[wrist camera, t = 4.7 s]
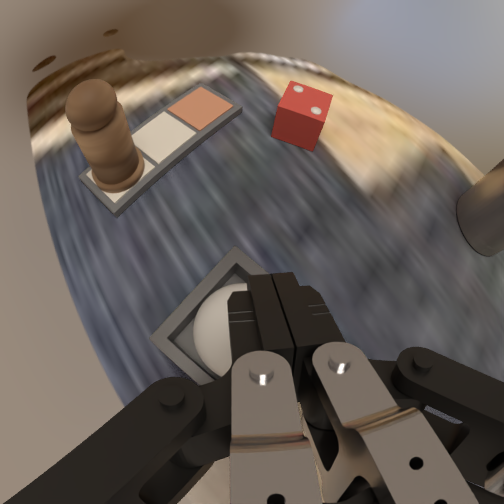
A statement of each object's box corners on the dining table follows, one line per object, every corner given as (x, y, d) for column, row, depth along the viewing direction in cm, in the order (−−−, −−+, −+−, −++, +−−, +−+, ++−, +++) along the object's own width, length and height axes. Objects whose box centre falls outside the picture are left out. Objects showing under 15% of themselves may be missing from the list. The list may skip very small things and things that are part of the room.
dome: (235, 279, 27) (240, 248, 20) (298, 331, 26) (326, 319, 19) (180, 340, 25) (163, 331, 18) (245, 395, 24) (254, 408, 17)
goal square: (200, 87, 35) (200, 86, 34) (233, 106, 34) (233, 105, 34) (167, 110, 33) (167, 109, 33) (199, 131, 32) (199, 130, 32)
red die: (283, 110, 36) (290, 79, 31) (321, 123, 35) (333, 94, 31) (271, 136, 34) (278, 104, 29) (312, 151, 34) (324, 121, 29)
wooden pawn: (124, 141, 31) (96, 57, 20) (155, 166, 30) (131, 77, 19) (85, 174, 29) (41, 96, 18) (114, 203, 28) (69, 122, 17)
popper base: (233, 259, 28) (234, 245, 25) (318, 329, 27) (331, 325, 24) (158, 341, 25) (148, 338, 22) (246, 417, 24) (250, 425, 20)
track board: (201, 88, 36) (200, 81, 35) (241, 112, 35) (242, 105, 34) (81, 181, 30) (77, 175, 29) (116, 218, 29) (113, 212, 28)
